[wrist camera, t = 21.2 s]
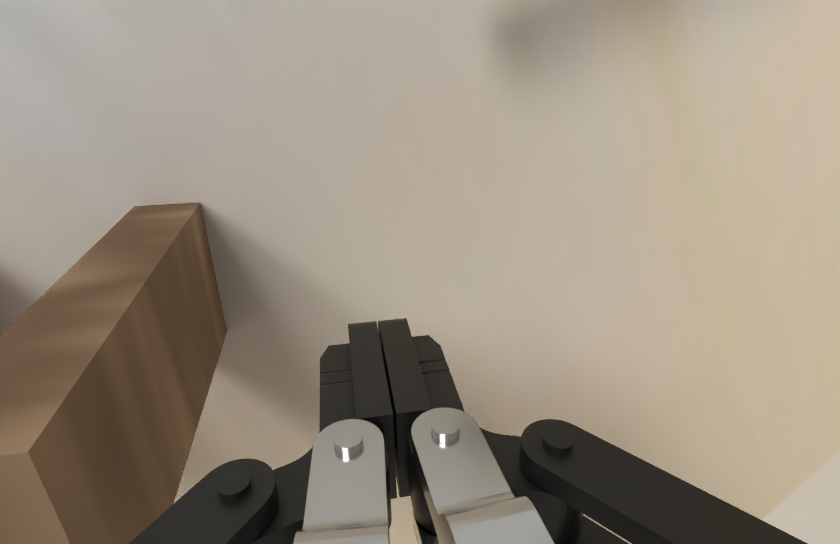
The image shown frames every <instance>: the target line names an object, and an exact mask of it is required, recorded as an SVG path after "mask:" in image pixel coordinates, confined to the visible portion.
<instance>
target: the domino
mask: <svg viewBox="0 0 840 544" xmlns="http://www.w3.org/2000/svg"><path fill="white" fill-rule="evenodd" d="M226 333H227V331H226V327H225V322H224V317H223V312H222V307H221V302H220V298H219V293H218V288H217V283H216V278H215V273H214V268H213V264H212V259H211V254H210V249H209V244H208V239H207V235H206V230H205V225H204V220H203V215H202V210H201V205H200V203H185V204H169V205H152V206H135V207H134V208H133V209H132V210H130V211H129V212H128V213H127V214H126V215H125V216H124V217H123V218H122V219H121V220H120V221H119V222H118V223H117V224H116V225H115V226H114V227H113V228H112V229H111V230H110V231H109V232H108V233H107V234H106V235H105V236H104V237H103V238H102V239H101V240H99V241H98V242H97V243H96V244H95V245H94V246H93V247H92V248H91V249H90V250H89V251H88V252H87V253H86V254H85V255H84V256H83V257H82V258H81V259H80V260H79V261H78V262H77V263H76V264H75V265H74V266H73V267H72V268H71V269H69V270H68V271H67V272H66V273H65V274H64V275H63V276H62V277H61V278H60V279H59V280H58V281H57V282H56V283H55V284H54V285H53V286H52V287H51V288H50V289H49V290H48V291H47V292H46V293H45V294H44V295H43V296H42V297H41V298H39V299H38V300H37V301H36V302H35V303H34V304H33V305H32V306H31V307H30V308H29V309H28V310H27V311H26V312H25V313H24V314H23V315H22V316H21V317H20V318H19V319H18V320H17V321H16V322H15V323H14V324H13V325H12V326H11V327H9V328H8V329H7V330H6V331H5V332H4V333H3V334H2V335H1V336H0V544H129V543H130V542H131V541H132V540H133V539H134V538H136V537H137V536H138V535H139V534H140V533H141V532H142V531H144V530H145V529H146V528H147V527H148V526H149V525H150V524H152V523H153V522H154V521H155V520H156V519H157V518H158V517H160V516H161V515H162V514H163V513H164V512H165V511H166V510H167V509H169V508H170V507H171V506H172V505H173V503H174V499H175V496H176V493H177V490H178V487H179V483H180V480H181V477H182V474H183V471H184V467H185V464H186V461H187V458H188V455H189V451H190V448H191V445H192V442H193V438H194V435H195V432H196V429H197V426H198V422H199V419H200V416H201V413H202V410H203V406H204V403H205V400H206V397H207V394H208V390H209V387H210V384H211V381H212V378H213V374H214V371H215V368H216V365H217V362H218V358H219V355H220V352H221V349H222V346H223V342H224V339H225V336H226Z"/></svg>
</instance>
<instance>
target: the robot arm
mask: <svg viewBox="0 0 840 544" xmlns="http://www.w3.org/2000/svg"><path fill="white" fill-rule="evenodd" d="M348 329H349V341H350V344H341V345H331V346H328V348H327V349H326V351H325V352H324V354H323V355H322V357H321V358H320V431H319V434H318V436H317V437H316V439H315V441H314V445H313V447H312V449H311V450H310V451H309V452H308V453H306V454H305V455H304V456H303V457H301V458H299V459H298V460H296V461H294V462H292V463H290V464H287V465H285V466H282V467H280V468H277V469H275V470H272V469H271V467H269V466H268V465H267V464H266V463H264V462H262V461H259V460H256V459H238V460H234V461H230V462H228V463H225V464H223V465H221V466H219V467H217V468H216V469H214V470H212V471H211V472H210V473H209V474H207V475H206V476H205V477H204V478H203V479H202V480H201V481H199V482H198V483H197V484H196V485H195V486H194V487H193V488H191V489H190V490H189V491H188V492H187V493H186V494H185V495H183V496H182V497H181V498H180V499H179V500H178V501H177V502H175V503H174V504H173V505H172V506H171V507H170V508H169V509H167V510H166V511H165V512H164V513H163V514H162V515H161V516H160V517H158V518H157V519H156V520H155V521H154V522H153V523H152V524H150V525H149V526H148V527H147V528H146V529H145V530H144V531H142V532H141V533H140V534H139V535H138V536H137V537H136V538H134V539H133V540H132V541H131V542H130V543H129V544H390V538H389V528H390V525H391V520H392V519H391V499H393V498H397V493H396V477H397V483H398V490H399V496H400V497H405V496H411V500H412V506H413V522H414V531H415V535H416V539H417V543H418V544H628V543H627V542H625V541H623V540H622V539H620V538H619V537H617V536H615V535H614V534H612V533H610V532H609V531H607V530H606V529H604V528H602V527H601V526H599V525H597V524H596V523H594V522H593V521H591V520H589V519H588V518H586V517H585V516H583V514H585V515H587V516H588V517H590V518H592V519H593V520H595V521H596V522H598V523H600V524H601V525H603V526H605V527H606V528H608V529H609V530H611V531H613V532H614V533H616V534H618V535H619V536H621V537H622V538H624V539H626V540H627V541H629V542H631V543H632V544H807V543H805V542H803V541H801V540H799V539H797V538H795V537H793V536H791V535H789V534H787V533H786V532H783V531H782V530H780V529H778V528H776V527H774V526H772V525H770V524H768V523H766V522H764V521H762V520H760V519H758V518H756V517H754V516H752V515H750V514H748V513H746V512H744V511H742V510H740V509H738V508H736V507H734V506H732V505H730V504H728V503H726V502H724V501H722V500H721V499H719V498H717V497H715V496H713V495H711V494H709V493H707V492H705V491H703V490H701V489H699V488H697V487H695V486H693V485H691V484H689V483H687V482H685V481H683V480H681V479H679V478H677V477H675V476H673V475H671V474H669V473H667V472H665V471H663V470H661V469H659V468H657V467H655V466H654V465H652V464H650V463H648V462H646V461H644V460H642V459H640V458H638V457H636V456H634V455H632V454H630V453H628V452H626V451H624V450H622V449H620V448H618V447H616V446H614V445H612V444H610V443H608V442H606V441H604V440H602V439H600V438H598V437H596V436H594V435H592V434H590V433H588V432H586V431H585V430H583V429H581V428H579V427H577V426H575V425H572V424H570V423H568V422H564V421H560V420H553V419H547V420H540V421H537V422H534V423H532V424H530V425H529V426H528V427H526V429H525V430H524V432H523V434H522V437H517V436H509V435H501V434H495V433H492V432H488V431H486V430H484V429H482V428H480V427H479V426H478V424H477V422H476V421H475V420H474V419H473V417H471V416H470V415H469V414H467V413H465V411H464V409H463V406H462V403H461V401H460V398H459V395H458V393H457V390H456V387H455V384H454V382H453V379H452V376H451V373H450V372H449V368H448V365H447V363H446V361H445V357H444V354H443V352H442V349H441V346H440V345H439V344H438V343H437V342H435V341H434V340H433V339H432V338H431V337H430V336H429V335H426V336H416V337H412V336H411V333H410V329H409V326H408V322H407V319H406V318H404V319H394V320H384V321H378V329H377V323H376V321H375V322H365V323H355V324H348Z"/></svg>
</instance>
